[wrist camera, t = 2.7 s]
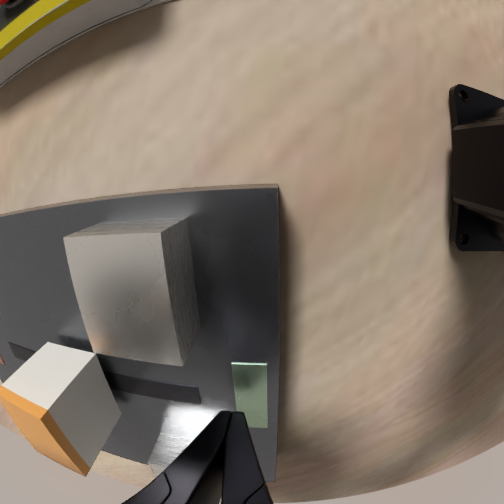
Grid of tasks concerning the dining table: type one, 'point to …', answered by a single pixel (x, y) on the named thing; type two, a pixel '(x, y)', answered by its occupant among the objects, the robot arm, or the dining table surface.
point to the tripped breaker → (62, 405)
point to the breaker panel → (222, 293)
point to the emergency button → (52, 27)
